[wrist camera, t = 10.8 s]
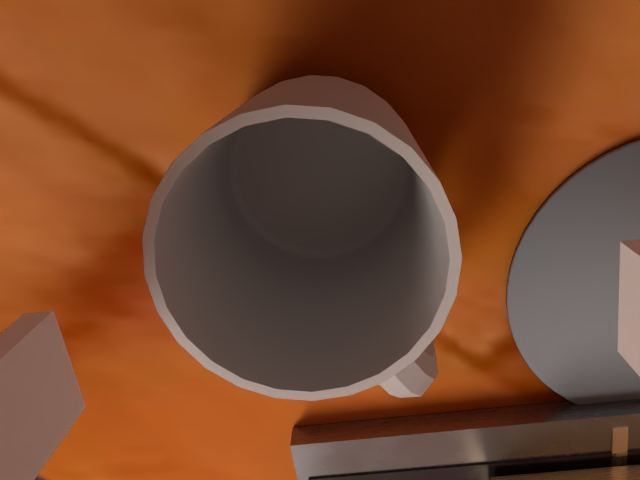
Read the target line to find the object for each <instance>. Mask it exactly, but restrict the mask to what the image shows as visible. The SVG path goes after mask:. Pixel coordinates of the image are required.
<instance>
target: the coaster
mask: <svg viewBox="0 0 640 480" xmlns="http://www.w3.org/2000/svg"><path fill="white" fill-rule="evenodd" d="M637 239H640V139H639V140H636V141H633V142H630V143H627V144H625V145H623V146H620V147H618V148H616V149H614V150H612V151H609V152H607V153H605V154H603V155H602V156H600V157H598V158H597V159H595V160H593V161H592V162H590V163H588V164H586V165H585V166H583V167H582V168H581V169H580V170H578V171H577V172H576V173H574V174H573V175H572V176H570V177H569V178H568V179H566V180H565V181H564V182H563V183H562V184H561V185H560V186H559V187H558V188H557V189H556V190H555V191H554V192H553V193H552V194H551V195H550V196H549V197H548V198H547V199H546V201H545V202H544V203H543V204H542V205H541V207H540V208H539V209H538V210H537V211H536V213H535V214H534V216H533V217H532V219H531V221H530V222H529V224H528V225H527V227H526V228H525V230H524V232H523V234H522V236H521V238H520V240H519V243H518V245H517V247H516V249H515V252H514V255H513V258H512V262H511V265H510V269H509V274H508V280H507V290H506V306H507V314H508V321H509V325H510V328H511V332H512V335H513V338H514V340H515V342H516V344H517V346H518V349H519V351H520V353H521V355H522V356H523V358H524V359H525V361H526V362H527V364H528V365H529V367H530V368H531V370H532V371H533V372H534V373H535V374H536V375H537V376H538V377H539V378H540V380H541V381H542V382H544V383H545V384H546V385H547V386H548V387H550V388H551V389H552V390H553V391H555V392H556V393H558V394H559V395H561V396H563V397H564V398H566V399H567V400H569V401H571V402H573V403H576V404H578V405H581V404H591V403H602V402H613V401H623V400H634V399H640V377H639V375H638V374H637V373H636V372H635V371H634V370H633V369H632V367H631V366H630V365H629V364H628V363H627V362H626V360H625V359H624V358H623V357H622V356H621V355H620V353H619V352H618V311H619V271H620V241H629V240H637Z"/></svg>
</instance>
